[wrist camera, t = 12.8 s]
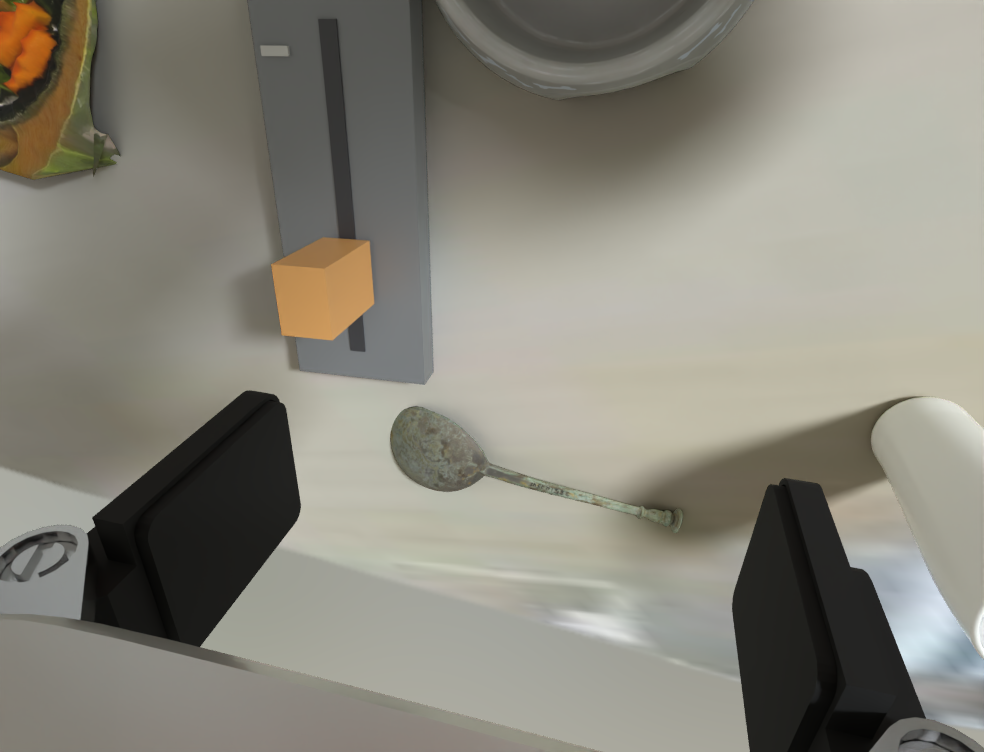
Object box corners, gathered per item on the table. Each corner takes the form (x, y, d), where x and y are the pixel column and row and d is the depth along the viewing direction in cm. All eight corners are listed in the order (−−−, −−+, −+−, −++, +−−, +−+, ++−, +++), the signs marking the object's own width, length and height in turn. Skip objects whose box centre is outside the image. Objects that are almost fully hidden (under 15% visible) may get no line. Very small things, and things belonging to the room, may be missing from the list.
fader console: (264, -21, 34) (241, -26, 32) (420, -22, 32) (406, -29, 30) (313, 358, 44) (298, 371, 42) (433, 371, 42) (423, 385, 40)
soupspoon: (400, 385, 45) (390, 454, 48) (381, 408, 42) (372, 480, 45) (695, 480, 42) (663, 546, 45) (697, 512, 39) (662, 580, 43)
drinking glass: (870, 489, 39) (988, 699, 26) (840, 403, 37) (951, 584, 24) (994, 459, 37) (1192, 674, 24) (969, 365, 35) (1171, 543, 22)
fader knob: (323, 237, 37) (271, 264, 32) (369, 240, 36) (324, 268, 31) (329, 299, 39) (281, 335, 34) (374, 303, 38) (332, 340, 33)
